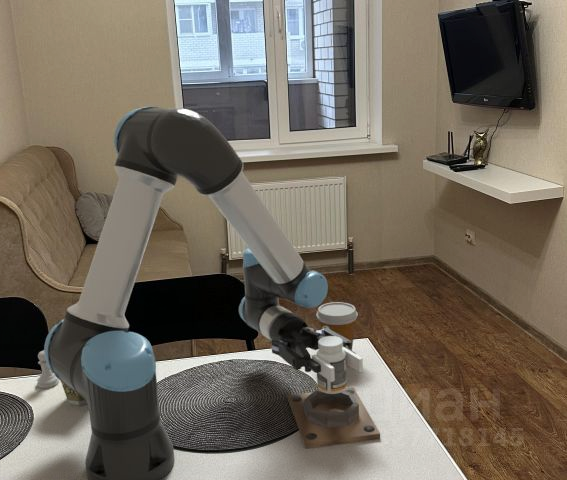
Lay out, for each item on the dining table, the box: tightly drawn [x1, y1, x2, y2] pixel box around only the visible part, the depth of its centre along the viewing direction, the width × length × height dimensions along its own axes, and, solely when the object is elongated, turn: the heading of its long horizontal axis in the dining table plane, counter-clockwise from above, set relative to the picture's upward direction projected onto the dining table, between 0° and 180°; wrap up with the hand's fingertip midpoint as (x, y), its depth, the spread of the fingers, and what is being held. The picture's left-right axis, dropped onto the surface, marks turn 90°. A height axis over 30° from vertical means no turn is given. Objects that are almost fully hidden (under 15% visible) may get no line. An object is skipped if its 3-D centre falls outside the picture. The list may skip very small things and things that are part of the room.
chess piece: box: [36, 350, 60, 389], centre depth 145 cm, size 5×5×8 cm
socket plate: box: [287, 387, 381, 449], centre depth 127 cm, size 14×18×4 cm
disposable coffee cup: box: [315, 301, 358, 347], centre depth 152 cm, size 10×10×12 cm
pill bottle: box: [315, 336, 348, 394], centre depth 125 cm, size 6×6×10 cm
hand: (347, 370), depth 120 cm, fingers closed on pill bottle, 6 cm apart
